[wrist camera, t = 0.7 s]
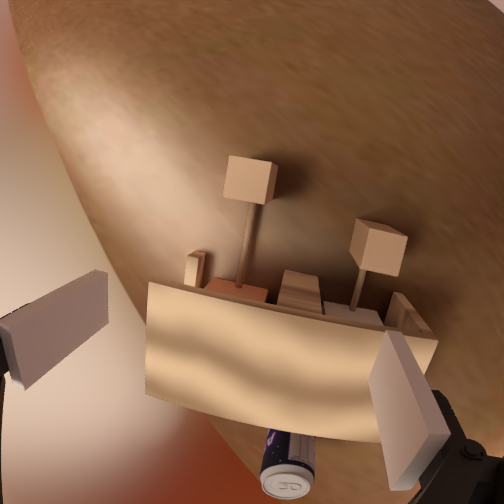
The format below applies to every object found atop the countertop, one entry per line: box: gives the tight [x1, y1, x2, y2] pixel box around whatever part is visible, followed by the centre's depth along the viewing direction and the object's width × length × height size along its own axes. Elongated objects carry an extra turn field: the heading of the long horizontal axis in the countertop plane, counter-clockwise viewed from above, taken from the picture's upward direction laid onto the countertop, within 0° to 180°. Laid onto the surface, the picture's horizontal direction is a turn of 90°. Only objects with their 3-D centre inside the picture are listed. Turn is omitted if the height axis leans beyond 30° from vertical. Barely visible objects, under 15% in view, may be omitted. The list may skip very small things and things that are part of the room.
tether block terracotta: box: [204, 156, 278, 303], centre depth 31 cm, size 19×6×7 cm, turn 170°
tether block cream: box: [322, 218, 408, 326], centre depth 30 cm, size 15×6×7 cm, turn 170°
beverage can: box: [260, 428, 315, 499], centre depth 32 cm, size 6×6×12 cm
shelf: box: [145, 251, 439, 443], centre depth 29 cm, size 11×23×11 cm, turn 80°
